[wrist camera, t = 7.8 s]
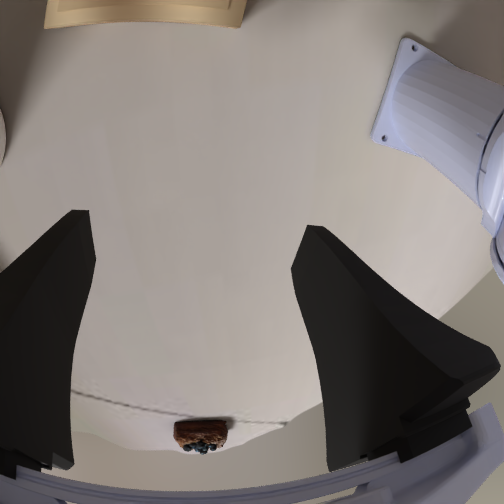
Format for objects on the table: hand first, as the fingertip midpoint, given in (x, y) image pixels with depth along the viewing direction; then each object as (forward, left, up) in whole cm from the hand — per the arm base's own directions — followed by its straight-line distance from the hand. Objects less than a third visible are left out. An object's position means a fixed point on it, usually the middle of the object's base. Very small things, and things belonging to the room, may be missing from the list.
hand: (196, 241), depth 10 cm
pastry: (-4, +56, -10) cm, 57 cm away
